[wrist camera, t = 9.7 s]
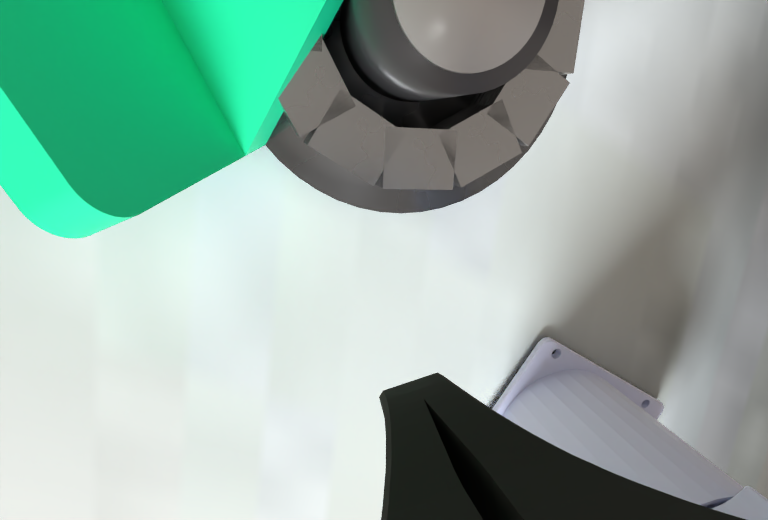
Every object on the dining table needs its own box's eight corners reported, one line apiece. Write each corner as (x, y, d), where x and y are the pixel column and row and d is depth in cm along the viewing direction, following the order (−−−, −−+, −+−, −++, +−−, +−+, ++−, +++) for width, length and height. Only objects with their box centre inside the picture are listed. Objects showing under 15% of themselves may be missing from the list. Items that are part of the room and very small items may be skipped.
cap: (503, 6, 16) (601, -43, 11) (429, 129, 17) (492, 132, 12) (389, -94, 14) (447, -202, 10) (312, 47, 15) (330, 12, 10)
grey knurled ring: (619, -10, 18) (682, -35, 15) (444, 262, 20) (472, 285, 17) (344, -297, 14) (363, -405, 11) (146, 87, 15) (118, 79, 12)
